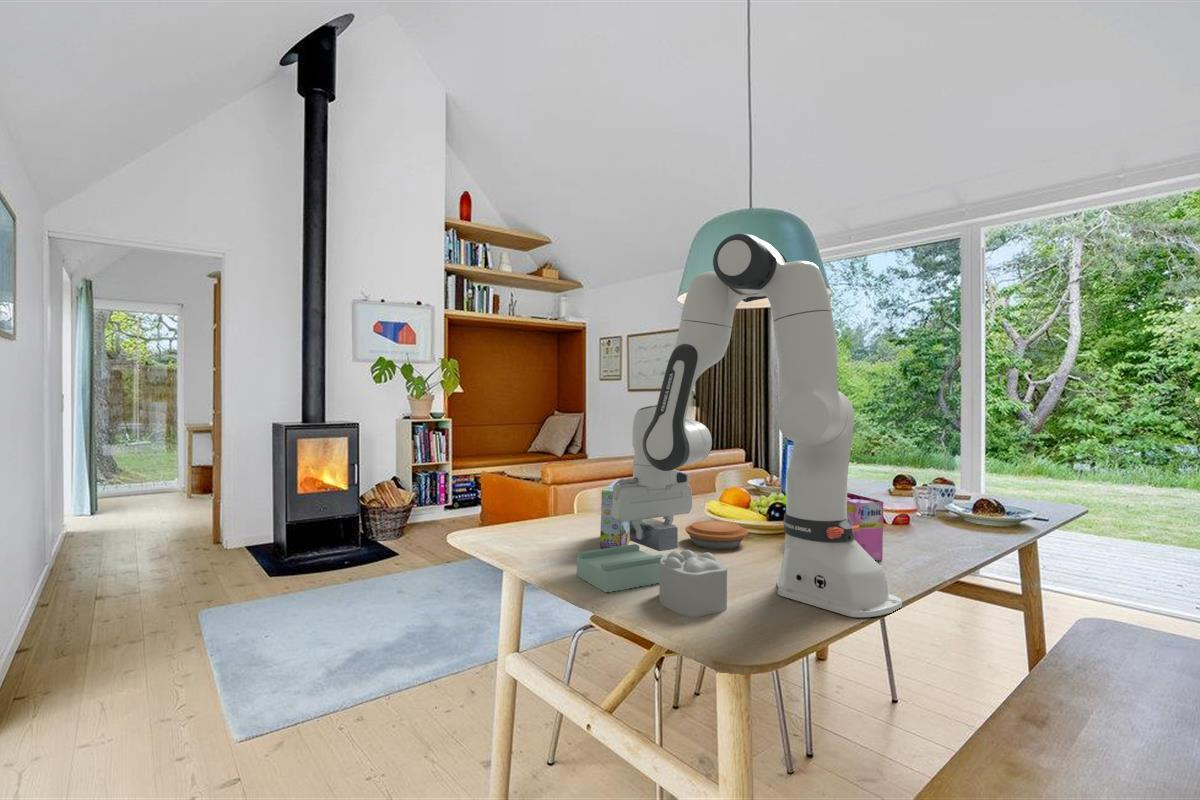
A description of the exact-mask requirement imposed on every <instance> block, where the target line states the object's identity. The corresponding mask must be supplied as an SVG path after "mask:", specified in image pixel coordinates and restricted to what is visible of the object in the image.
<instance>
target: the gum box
mask: <svg viewBox="0 0 1200 800" xmlns="http://www.w3.org/2000/svg"><path fill="white" fill-rule="evenodd" d="M847 517H848V518H849V521H850V523H851V526H856V525H859V526H860V527H858V528H856V529H855V530H860V531H857V532H854V535H855V541H856V542H857V543H858V544H859V545H860V546H861V547H862V548H863V549H864V550H865V551H866V552H867V553H868V554H869V555H870V556H871V557H872V558H873V559H874V560H880V561H883V554H884V553H883V551H884V550H883V547H884V546H883V545H884V542H883V539H884V536H883V535H884V501H882V500H880V499H875V498H870V497H866V496H864V495H863V496H862V495H858V494H855V493H851V492H847Z"/></svg>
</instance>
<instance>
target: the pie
mask: <svg viewBox="0 0 1200 800" xmlns="http://www.w3.org/2000/svg"><path fill="white" fill-rule="evenodd" d="M684 530H685V532H686V533H687V535H689V538H690V540H691V541H692V543H693V545H695V546H697V547H700V548H704V549H709V548H710V550H711V549H712V550H730V549H729V548H731V549H735V548H737V547H739V546H740V545H741V542H742V541H743V539H744V538H745V537H746V536H747V535H748V534H749V531H748V530H747V529H746V528H745V527H743V526H742V525H740V524H738V523H734V522H729V521H724V520H701V521H696V522H692V523H691V524H689V525H687V526H685V528H684Z"/></svg>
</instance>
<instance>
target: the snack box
mask: <svg viewBox="0 0 1200 800" xmlns="http://www.w3.org/2000/svg"><path fill="white" fill-rule="evenodd" d="M620 479H621V478H616V479H614V481H613V482H611V483H610V484H609V485H607V486H606V487H604V489H602V490H601V502H600V504H601V505H600V506H601V507H600V531H599V532H600V533H599V534H600V537H599V539H600V541H599V549H604V548H611V547H618V546H625V545H629V543H630V542H631V541H630V527H629V521H627V522H619V521H616V520H614V518H613V517H612V501H613V486H614V484H615V483H616V482H618V480H620ZM618 484H619V483H618ZM626 484H628V483H626Z"/></svg>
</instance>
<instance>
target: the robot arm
mask: <svg viewBox="0 0 1200 800" xmlns="http://www.w3.org/2000/svg"><path fill="white" fill-rule="evenodd" d="M712 265H713V270H711V271H710V270H708V271H704V272H701V273H698V274H696V275H695V276H694V277H693V278H692V280H691V281H690V284H689V287H688V289H687V292H686V296H685V299H684V303H683V307H682V311H681V315H680V323H679V326H678V332H677V337H676V341H675V345H674V347H673V350H672V351H671V354H670V357H669V360H668V362H667V365H666V369H665V373H664V376H663V381H662V383H661V389H660V392H659V395H658V396H659V397H658V400H657V404H655V405H649V406H645V407H641V408H639V409H637V411H636V412H635V414H634V416H633V421H632V423H633V424H632V447H633V453H634V456H633V460H632V477H630V478H619V479H620V480H618V482H616V483H615V484H614V486H613V501H612V517H613V518H614V520H616V521H619V522H627V521H632V525H633V526H634V528H635V530H636V537H637V539H646V531H643V530H642V528H641V526H640V524H642V519H649V518H652V519H656V518H662V519H663V520H664V521H663V522H665V523H669V524H672V523H673V521H674V516H679V515H686V514H687V515H688V514H689V513H690V512H691V511H692V509H693V493H692V488H691V485H690V484H689V483H690V481H691V475H690V474H689V473H688V472H685V471H681V470H677V469H678V468H680V467H683V466H689V465H691V464H695V463H698V462H700V461H703V460H704V459H705V458H707V457H708V456H709V454H710V453H711V451H712V447H713V437H712V433H711V431H710V429H709V428H708V427H707V426H706V425H705V424H704V423H702V422H700V421H697V420H693V419H691V418H687V413H688V410H689V405H690V401H691V397H692V395H693V394H692V393H693V390H694V386H695V384H696V382H697V381H698V379H699V377H700V376H701V375H702V374H703V373H704V372H705V371H707V370H708V369H709V368H711V367H713V366H714V365H716V364H718V363H719V362H720V361H721V360H722V359H723V358H724V357H725V354H726V352H727V350H728V347H729V345H730V340H731V335H732V331H733V324H734V323H733V322H734V316H735V312H736V308H737V306H738V305H739V304H740V302H741V301H742V302H744V303H750V302H753V301H754V302H755V301H758V300H764V299H767V300H768V302H769V304H770V310H771V316H772V322H773V323H772V324H773V330H774V337H775V343H776V352H777V358H778V360H777V361H778V381H777V383H778V385H777V386H778V388H777V391H778V392H777V393H778V396H777V397H778V398H777V399H778V401H777V403H778V405H777V409H776V413H775V414H776V415H775V417H776V419H775V420H776V423H777V428H778V429H779V431H780V432H781V434H782V435H783V436H784V437H785V438H787V439H788V440H789V441H792V442H793V446H792V452H791V456H790V462H789V466H788V468H787V470H786V471H787V472H786V504H785V510H786V511H785V513H783V521H782V524H783V532H784V534H785V537H784V539H785V540H784V547H783V552H782V553H783V555H782V558H781V565H780V566H781V567H780V570H779V575H778V578H777V581H776V586H777V588H778V589H777V595H778V596H780V597H783V598H787V599H791V600H793V601H797V602H800V603H803V604H807V605H810V606H814V607H817V608H819V609H820V608H821V609H824V610H827V611H830V612H834V613H837V614H839V615H840V614H841V615H844V616H847V617H850V618H871V617H879V616H884V615H888V614H890V613H894V612H896V611H898V610H900V609H901V608H902V607H903V601H902V600H903V599H902V598H900V597H899V596H896V595H893V594H891V593H890V592H889V587H888V585H889V584H888V578H887V575H886V572H885V570H884V568H883V566H882V565H880V564H879V562H878V561H875V560H874V559H873V558H872V557H871V556H870V555H869V554H868V553H867V552H866V551H865V550H864V549H863V548H862V547H861V546H860V545H859V544H858V543H857V542H856V541H855V535H854V532H857V531H860V530H855V529H856V528H858V527H860V526H859V525H856V526H851V523H850V521H849V518H848V517H847V493H848V475H849V467H850V466H849V465H850V458H851V450H852V444H853V442H852V441H853V433H854V431H853V430H854V419H855V410H854V407H853V404H852V403H851V401H850V399H849V398H848V397H847V396H846V395H845V394H844V393H843V392H841V391H839V380H838V359H839V358H838V357H839V348H838V342H837V336H836V329H835V323H834V316H833V309H832V303H831V300H830V295H829V292H828V288H827V284H826V282H825V279H824V276H823V274H822V271H821V269H820V268H819V266H818V265H817V264H815V263H814V262H811V261H808V260H793V261H789V262H788V261H787V258H786V257H785V256H784V254H782V252H780V251H778V250H777V249H776V248H775V247H774V246H773V245H771V244H770V243H769V242H767V241H766V240H763V239H761V238H759V237H758V236H755V235H753V234H750V233H734V234H732V235H729V236H727V237H725V238H724V239H723V240H721V242H720V243H719V244H718V245H717V247H716V249H715V251H714V254H713V259H712ZM618 483H619V484H618ZM626 483H628V484H626ZM672 525H673V524H672ZM899 608H900V609H899ZM897 609H898V610H897ZM895 610H896V611H895ZM893 611H894V612H893Z"/></svg>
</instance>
